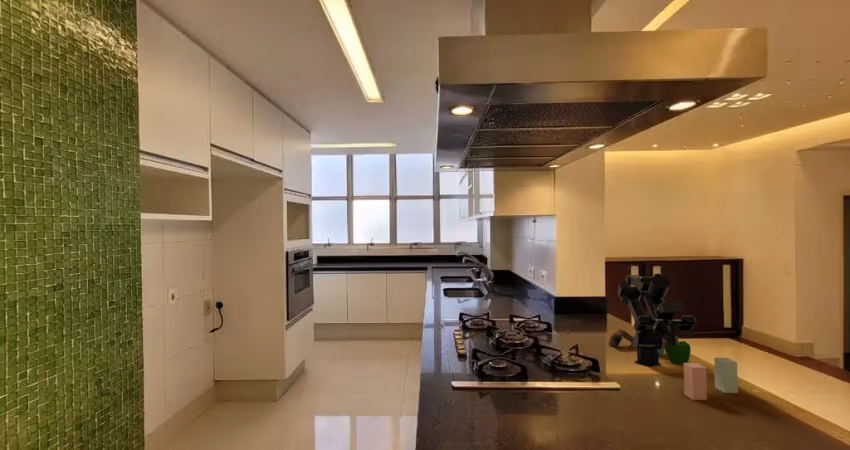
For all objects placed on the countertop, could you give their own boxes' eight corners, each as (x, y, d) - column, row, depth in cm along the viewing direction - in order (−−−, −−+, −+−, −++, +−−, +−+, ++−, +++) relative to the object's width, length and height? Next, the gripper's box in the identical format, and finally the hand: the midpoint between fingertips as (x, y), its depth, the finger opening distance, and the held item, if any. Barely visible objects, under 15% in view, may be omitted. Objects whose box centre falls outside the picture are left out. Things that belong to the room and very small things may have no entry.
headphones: (610, 343, 191) (620, 328, 190) (629, 356, 184) (640, 340, 183) (601, 341, 182) (611, 325, 181) (621, 355, 176) (631, 338, 174)
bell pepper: (693, 367, 155) (693, 339, 155) (668, 365, 157) (667, 338, 157) (687, 360, 163) (686, 334, 163) (663, 358, 165) (662, 333, 165)
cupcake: (643, 350, 177) (642, 321, 177) (666, 351, 174) (665, 322, 174) (646, 356, 169) (646, 326, 169) (670, 357, 166) (670, 327, 166)
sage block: (715, 387, 134) (714, 357, 134) (728, 387, 134) (727, 357, 134) (724, 392, 129) (723, 361, 130) (737, 393, 129) (737, 361, 129)
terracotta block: (684, 394, 129) (683, 362, 129) (697, 394, 129) (696, 362, 129) (692, 399, 124) (692, 367, 125) (706, 399, 124) (706, 367, 124)
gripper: (636, 292, 144) (653, 332, 133) (692, 292, 143) (714, 332, 132) (627, 311, 152) (642, 350, 141) (680, 310, 151) (699, 350, 140)
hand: (674, 345), depth 138 cm, fingers closed
